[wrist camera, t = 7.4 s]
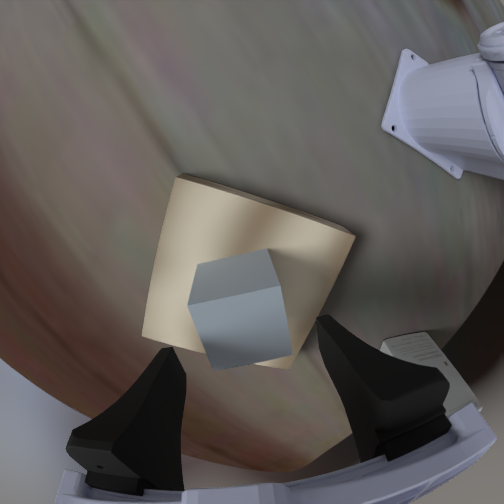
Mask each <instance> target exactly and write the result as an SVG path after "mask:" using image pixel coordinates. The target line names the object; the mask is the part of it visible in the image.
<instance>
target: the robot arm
mask: <svg viewBox="0 0 504 504" xmlns="http://www.w3.org/2000/svg"><path fill="white" fill-rule="evenodd" d="M478 50H479V52H480V53H476V54H471V55H467V56H462V57H458V58H454V59H450V60H446V61H442V62H438V63H435V64H431V65H430V64H428V63H427V62H426V61H424V60H423V59H422V58H420V57H419V56H417V55H416V54H415V53H413V52H412V51H410V50H409V49H404V50H402V52H401V56H400V60H399V64H398V68H397V72H396V76H395V79H394V83H393V87H392V90H391V94H390V97H389V100H388V104H387V107H386V110H385V114H384V117H383V120H382V124H381V126H382V129H383V130H384V131H385V132H387V133H389V134H390V135H392V136H394V137H395V138H397V139H399V140H400V141H402V142H404V143H405V144H407V145H408V146H410V147H411V148H413V149H415V150H416V151H418V152H419V153H421V154H422V155H424V156H425V157H427V158H428V159H429V160H431V161H432V162H434V163H435V164H437V165H438V166H439V167H441V168H442V169H443V170H445V171H446V172H447V173H449V174H450V175H451V176H453V177H454V178H456V179H460V178H461V176H462V172H463V170H465V171H470V172H474V173H478V174H482V175H486V176H490V177H494V178H498V179H502V180H504V22H502V23H499V24H497V25H494V26H492V27H490V28H488V29H487V30H485V31H484V32H483V33H482V34H481V35H480V41H479V43H478ZM411 56H412V57H413V59H412V58H411ZM392 126H393V127H394V132H393V131H392ZM450 168H451V169H450ZM316 322H317V331H318V341H319V349H320V352H321V355H322V358H323V361H324V364H325V367H326V369H327V371H328V373H329V375H330V377H331V379H332V381H333V383H334V385H335V387H336V389H337V391H338V394H339V396H340V398H341V400H342V402H343V405H344V408H345V411H346V414H347V417H348V420H349V423H350V426H351V429H352V433H353V436H354V439H355V443H356V446H357V449H358V454H359V458H360V462H361V463H360V464H357V465H354V466H351V467H348V468H344V469H341V470H338V471H334V472H331V473H327V474H324V475H320V476H316V477H311V478H307V479H303V480H299V481H293V482H288V483H282V484H279V483H261V484H251V485H242V486H232V487H231V486H230V487H214V488H195V489H188V490H186V491H184V484H183V476H182V466H181V425H182V418H183V411H184V404H185V397H186V373H185V371H184V369H183V367H182V365H181V363H180V361H179V359H178V357H177V355H176V353H175V351H174V349H173V347H168V348H162V349H161V350H160V351H159V352H158V354H157V355H156V356H155V357H154V359H153V360H152V361H151V363H150V364H149V365H148V367H147V368H146V369H145V371H144V372H143V373H142V374H141V376H140V377H139V378H138V379H137V380H136V382H135V383H134V384H133V385H132V386H131V387H130V389H129V390H128V391H127V392H126V393H125V394H124V395H123V396H122V397H121V398H120V399H118V400H117V401H116V402H115V403H114V404H113V405H111V406H110V407H109V408H108V409H106V410H105V411H104V412H103V413H101V414H100V415H98V416H97V417H95V418H94V419H92V420H90V421H89V422H87V423H85V424H83V425H81V426H79V427H77V428H75V429H73V430H72V433H71V436H70V438H69V441H68V443H67V446H66V451H67V453H68V454H69V456H70V457H72V458H73V459H74V460H75V461H76V462H77V463H79V464H80V465H81V466H82V467H84V468H85V469H86V470H87V471H88V472H87V475H85V474H83V473H80V472H76V471H72V470H67V469H65V470H64V473H63V477H62V480H61V483H60V486H59V490H58V493H57V497H56V501H55V504H409V503H411V502H413V501H415V500H417V499H418V498H420V497H422V496H424V495H426V494H428V493H429V492H431V491H433V490H434V489H436V488H438V487H439V486H441V485H443V484H444V483H446V482H448V481H449V480H451V479H452V478H454V477H455V476H457V475H459V474H460V473H461V472H463V471H464V470H466V469H468V468H469V467H470V466H472V465H473V464H475V463H476V462H477V460H479V459H480V457H481V456H482V455H483V454H484V453H485V452H486V451H487V450H488V449H489V448H490V447H491V446H492V444H493V443H494V442H495V441H496V439H497V437H496V435H495V434H494V432H493V431H492V429H491V428H490V427H489V425H488V424H487V422H486V421H485V420H484V418H483V416H482V415H481V414H480V412H479V411H478V409H477V408H476V407H475V405H474V404H473V402H470V403H469V404H467V405H466V406H464V407H462V408H461V409H459V410H458V411H456V412H454V413H453V414H452V415H451V416H449V418H447V417H446V415H445V413H446V409H445V407H444V406H443V403H444V401H445V399H446V396H447V394H448V391H449V388H450V383H449V381H448V380H447V379H446V377H445V376H444V375H443V373H442V372H441V371H440V370H439V369H438V368H436V367H430V366H424V365H419V364H415V363H411V362H407V361H404V360H401V359H398V358H396V357H393V356H390V355H388V354H386V353H383V352H381V351H379V350H377V349H375V348H374V347H372V346H370V345H368V344H367V343H365V342H364V341H362V340H361V339H359V338H358V337H356V336H355V335H353V334H352V333H351V332H349V331H348V330H347V329H345V328H344V327H343V326H342V325H340V324H339V323H338V322H337V321H336V320H335V319H333V318H332V317H331V316H330V315H324V316H320V317H316Z"/></svg>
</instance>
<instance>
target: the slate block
mask: <svg viewBox="0 0 504 504" xmlns="http://www.w3.org/2000/svg"><path fill="white" fill-rule="evenodd" d="M187 306H188V309H189V312H190V314H191V317H192V319H193V322H194V325H195V327H196V330H197V332H198V335H199V337H200V340H201V342H202V344H203V347H204V349H205V352H206V354H207V356H208V359H209V361H210V363H211V366H212V368H213V370H214V371H215V370H221V369H227V368H233V367H238V366H244V365H249V364H254V363H259V362H264V361H268V360H273V359H277V358H282V357H286V356H290V355H293V351H292V346H291V340H290V334H289V329H288V323H287V318H286V312H285V307H284V302H283V296H282V291H281V286H280V283H279V280H278V277H277V274H276V272H275V269H274V266H273V263H272V261H271V258H270V255H269V252H268V250H267V248H266V249H262V250H257V251H253V252H248V253H244V254H240V255H235V256H231V257H226V258H222V259H218V260H213V261H209V262H204V263H200V264H197V268H196V272H195V276H194V280H193V284H192V288H191V292H190V296H189V300H188V304H187Z"/></svg>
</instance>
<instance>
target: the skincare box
mask: <svg viewBox="0 0 504 504" xmlns="http://www.w3.org/2000/svg"><path fill="white" fill-rule="evenodd" d="M380 351H381V352H383V353H386V354H388V355H390V356H393V357H396V358H398V359H401V360H404V361H407V362H411V363H415V364H419V365H424V366H430V367H436V368H438V369H439V370H440V371H441V372H442V373H443V375H444V376H445V377H446V379H447V380H448V381H449V383H450V388H449V391H448V394H447V396H446V399H445V401H444V403H443V406H444V407H445V409H446V413H445V415H446V417H447V418H449V416H451V415H452V414H453V413H454V412H456V411H458V410H459V409H461V408H462V407H464V406H466V405H467V404H469V403H470V402H473V404H474V405H475V407H476V408H477V409H478V411H479V412H480V411H481V410H482V408H483V407H482V405H481V403H480V402H479V401H478V399H477V398H476V396H475V395H474V394H473V392H472V391H471V390H470V388H469V386H468V385H467V384H466V382H465V381H464V380H463V378H462V377H461V375H460V374H459V373H458V372H457V370H456V369H455V368H454V366H453V365H452V364H451V362H450V361H449V360H448V359H447V357H446V356H445V355H444V353H443V352H442V351H441V350H440V348H439V347H438V346H437V345H436V343H435V342H434V341H433V340H432V339H431V337H430V336H429V335H428V334H427V333H426V332H420V333H414V334H408V335H403V336H398V337H393V338H388V339H386V340H384V341H383V343H382V346H381V348H380Z"/></svg>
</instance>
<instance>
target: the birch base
mask: <svg viewBox="0 0 504 504" xmlns="http://www.w3.org/2000/svg"><path fill="white" fill-rule="evenodd" d="M355 237H356V236H355V235H353V234H352V233H351V232H349V231H348V230H347V229H345V228H344V227H343V226H341V225H338V224H336V223H333V222H330V221H327V220H325V219H322V218H319V217H317V216H314V215H311V214H308V213H305V212H303V211H300V210H297V209H294V208H291V207H288V206H285V205H282V204H280V203H277V202H274V201H271V200H268V199H265V198H262V197H259V196H255V195H252V194H249V193H246V192H243V191H240V190H237V189H234V188H230V187H227V186H224V185H221V184H217V183H214V182H211V181H207V180H204V179H200V178H197V177H194V176H190V175H187V174H181V175H179V176H177V177H176V178H175V182H174V185H173V189H172V193H171V196H170V200H169V204H168V208H167V212H166V215H165V219H164V224H163V228H162V232H161V236H160V240H159V245H158V249H157V254H156V259H155V263H154V268H153V273H152V278H151V284H150V289H149V294H148V300H147V306H146V312H145V318H144V325H143V331H142V336H143V337H146V338H150V339H153V340H156V341H160V342H163V343H167V344H170V345H174V346H178V347H181V348H185V349H189V350H193V351H197V352H201V353H205V354H206V352H205V349H204V347H203V344H202V342H201V340H200V337H199V335H198V332H197V330H196V327H195V325H194V322H193V319H192V317H191V314H190V312H189V309H188V306H187V304H188V300H189V296H190V292H191V288H192V284H193V280H194V276H195V272H196V268H197V264H200V263H204V262H209V261H213V260H218V259H222V258H226V257H231V256H235V255H240V254H244V253H248V252H253V251H257V250H262V249H266V248H267V250H268V252H269V255H270V258H271V261H272V263H273V266H274V269H275V272H276V274H277V277H278V280H279V283H280V286H281V291H282V296H283V302H284V307H285V312H286V318H287V323H288V329H289V334H290V340H291V346H292V351H293V355H290V356H286V357H282V358H277V359H273V360H268V361H264V362H259V363H254V364H258V365H263V366H269V367H275V368H281V369H288V370H289V368H290V366H291V365H292V363H293V361H294V359H295V358H296V356H297V354H298V352H299V351H300V349H301V347H302V345H303V343H304V341H305V340H306V338H307V336H308V334H309V332H310V330H311V329H312V327H313V325H314V323H315V321H316V317H318V315H319V313H320V311H321V309H322V307H323V305H324V303H325V301H326V299H327V297H328V295H329V293H330V291H331V289H332V287H333V285H334V283H335V281H336V279H337V277H338V275H339V272H340V270H341V268H342V266H343V264H344V262H345V259H346V257H347V255H348V253H349V250H350V248H351V246H352V244H353V241H354V239H355Z"/></svg>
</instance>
